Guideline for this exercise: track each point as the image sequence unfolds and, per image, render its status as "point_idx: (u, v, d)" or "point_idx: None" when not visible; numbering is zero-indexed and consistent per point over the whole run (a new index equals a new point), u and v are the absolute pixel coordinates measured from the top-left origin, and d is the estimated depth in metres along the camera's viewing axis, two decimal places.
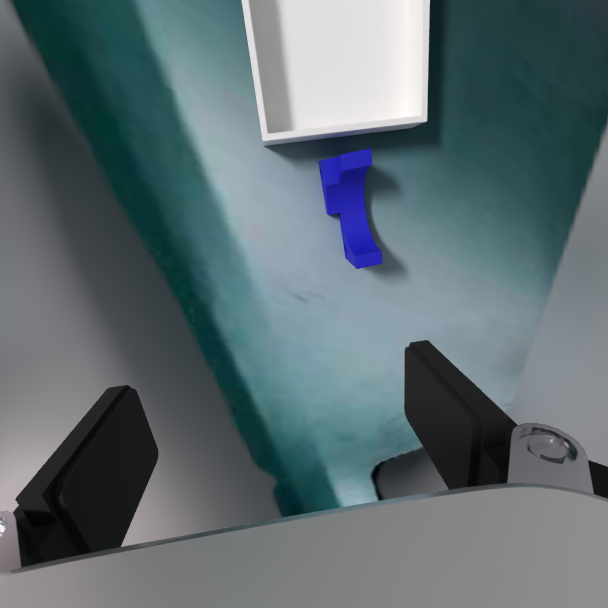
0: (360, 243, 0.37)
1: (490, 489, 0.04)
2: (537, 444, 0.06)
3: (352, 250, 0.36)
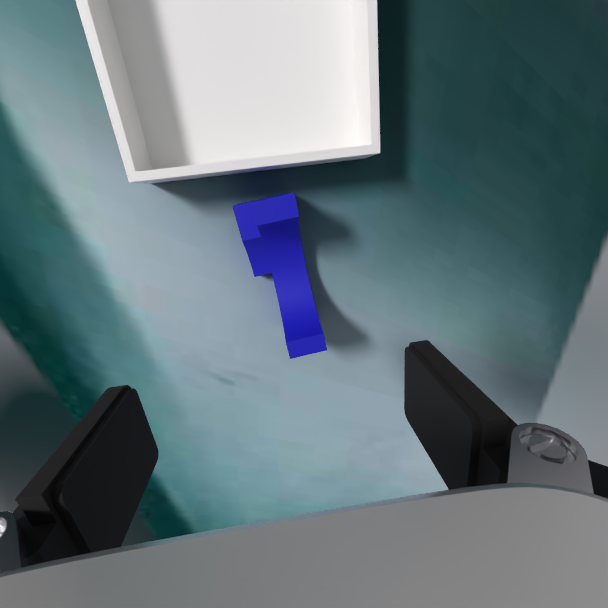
0: (297, 316, 0.26)
1: (490, 489, 0.04)
2: (537, 444, 0.06)
3: (285, 329, 0.25)
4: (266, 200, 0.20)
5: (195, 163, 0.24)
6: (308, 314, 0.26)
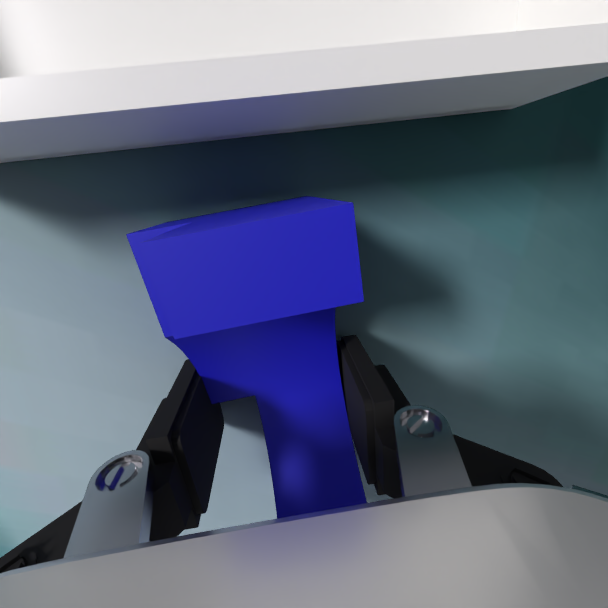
0: None
1: (490, 489, 0.04)
2: (413, 425, 0.07)
3: None
4: (220, 232, 0.04)
5: None
6: None
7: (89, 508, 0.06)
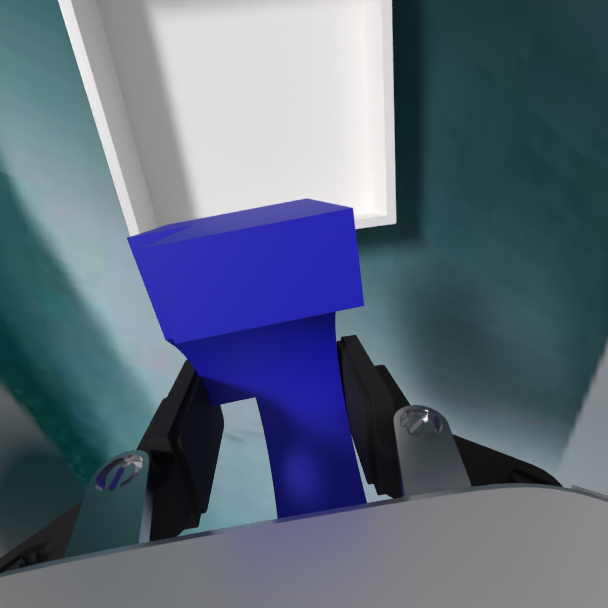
0: None
1: (490, 489, 0.04)
2: (413, 425, 0.07)
3: None
4: (220, 238, 0.04)
5: None
6: None
7: (89, 508, 0.06)
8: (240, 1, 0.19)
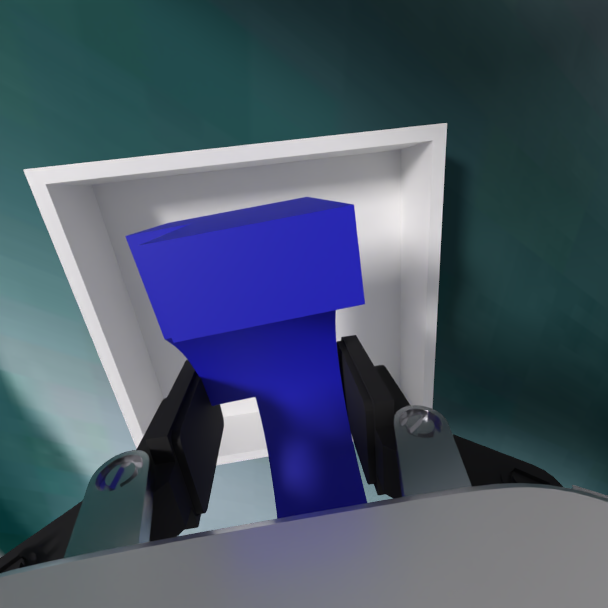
0: None
1: (490, 489, 0.04)
2: (413, 424, 0.07)
3: None
4: (219, 235, 0.04)
5: None
6: None
7: (89, 508, 0.06)
8: (264, 204, 0.17)
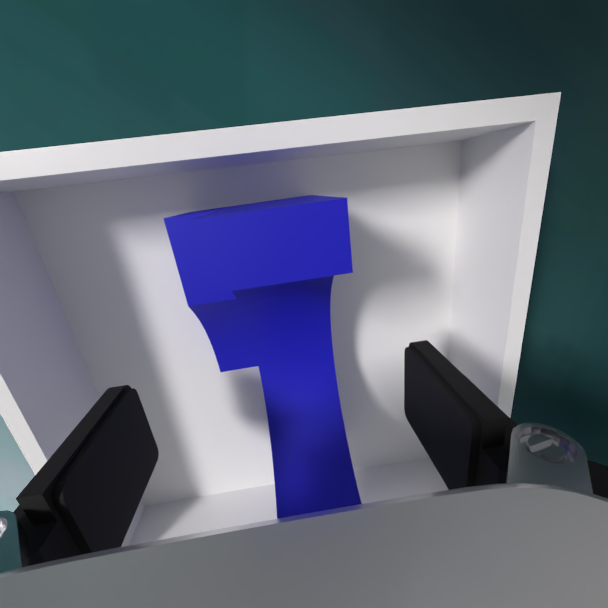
0: (309, 471, 0.12)
1: (490, 489, 0.04)
2: (536, 444, 0.06)
3: (280, 508, 0.11)
4: (249, 215, 0.06)
5: (206, 489, 0.16)
6: (333, 467, 0.12)
7: None
8: None
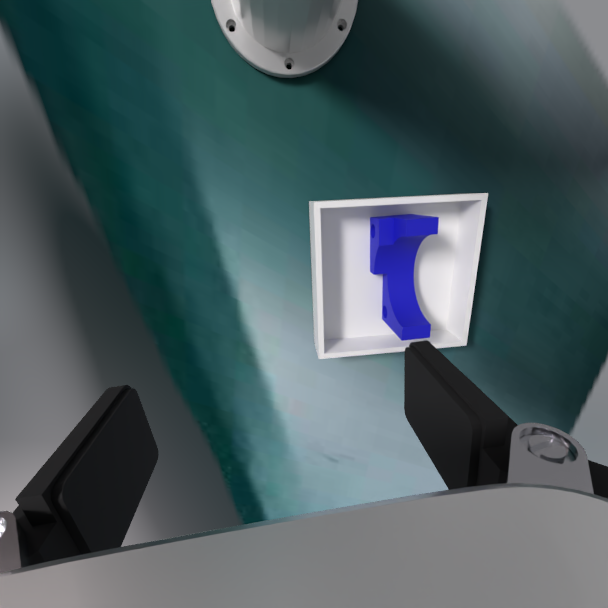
0: (405, 310, 0.33)
1: (490, 489, 0.04)
2: (537, 444, 0.06)
3: (397, 318, 0.32)
4: (418, 219, 0.28)
5: (346, 335, 0.37)
6: (413, 309, 0.33)
7: None
8: None
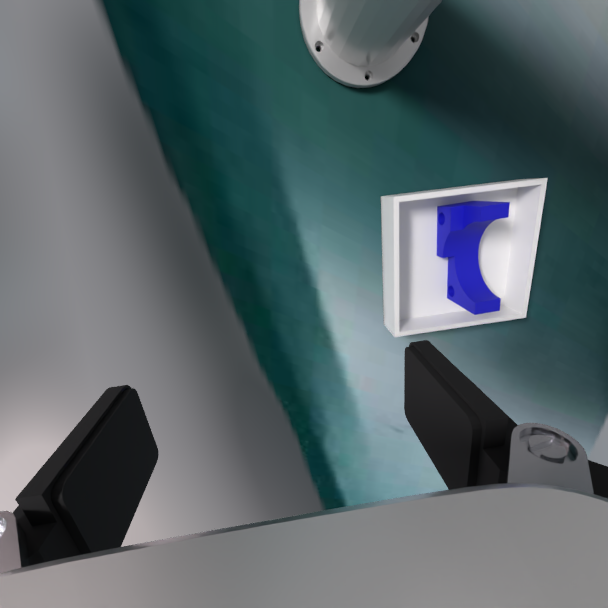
0: (473, 287, 0.37)
1: (490, 489, 0.04)
2: (537, 444, 0.06)
3: (467, 295, 0.36)
4: (491, 205, 0.31)
5: (413, 315, 0.41)
6: (480, 286, 0.37)
7: None
8: None
